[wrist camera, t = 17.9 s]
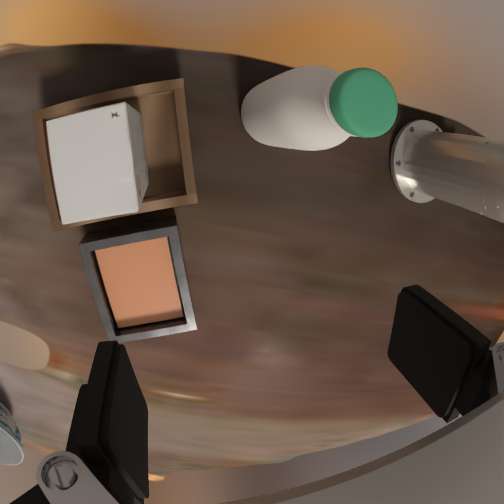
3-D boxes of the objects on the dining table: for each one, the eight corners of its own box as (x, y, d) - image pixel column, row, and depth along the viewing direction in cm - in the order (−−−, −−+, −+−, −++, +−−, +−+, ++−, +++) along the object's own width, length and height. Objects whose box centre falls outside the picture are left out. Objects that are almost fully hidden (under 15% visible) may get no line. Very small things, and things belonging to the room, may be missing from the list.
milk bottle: (268, 158, 37) (363, 187, 19) (225, 109, 34) (289, 84, 16) (314, 119, 37) (432, 119, 19) (275, 70, 34) (375, 24, 15)
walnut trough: (181, 84, 32) (183, 78, 28) (194, 195, 37) (197, 202, 33) (46, 113, 29) (33, 112, 25) (64, 221, 33) (53, 231, 30)
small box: (85, 123, 30) (43, 118, 18) (141, 112, 31) (127, 99, 19) (95, 194, 33) (60, 227, 21) (150, 184, 34) (141, 212, 22)
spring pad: (166, 233, 36) (166, 235, 35) (183, 312, 40) (183, 316, 39) (96, 246, 34) (94, 249, 33) (119, 323, 38) (118, 328, 37)
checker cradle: (175, 216, 37) (176, 225, 33) (193, 312, 42) (197, 329, 38) (86, 233, 35) (78, 244, 31) (114, 326, 40) (110, 344, 36)
